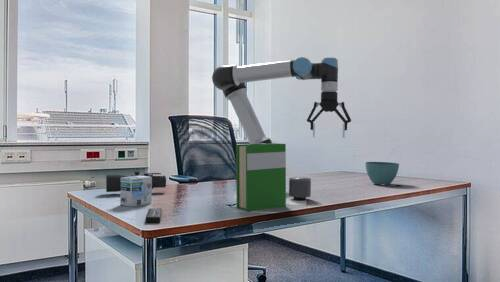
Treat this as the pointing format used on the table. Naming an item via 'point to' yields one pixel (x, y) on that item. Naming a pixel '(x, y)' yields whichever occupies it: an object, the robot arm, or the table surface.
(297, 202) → the mat
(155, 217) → the multiport hub
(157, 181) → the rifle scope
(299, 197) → the lens barrel
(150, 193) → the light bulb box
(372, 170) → the teal bowl
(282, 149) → the hardback book
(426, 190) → the table surface
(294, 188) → the grey cylinder
